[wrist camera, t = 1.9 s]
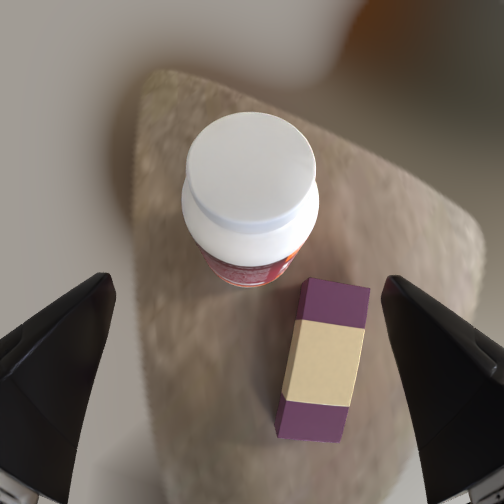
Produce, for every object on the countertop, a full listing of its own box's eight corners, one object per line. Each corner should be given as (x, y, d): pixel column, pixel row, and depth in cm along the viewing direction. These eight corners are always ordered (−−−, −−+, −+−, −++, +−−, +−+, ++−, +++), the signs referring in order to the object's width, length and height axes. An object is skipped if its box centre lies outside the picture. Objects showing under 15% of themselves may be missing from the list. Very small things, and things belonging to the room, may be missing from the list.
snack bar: (330, 431, 18) (340, 443, 16) (273, 425, 18) (276, 438, 16) (357, 292, 21) (371, 288, 18) (301, 282, 21) (308, 277, 18)
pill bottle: (291, 292, 21) (337, 257, 10) (198, 284, 21) (148, 241, 10) (296, 205, 22) (333, 106, 11) (209, 197, 22) (181, 95, 11)
